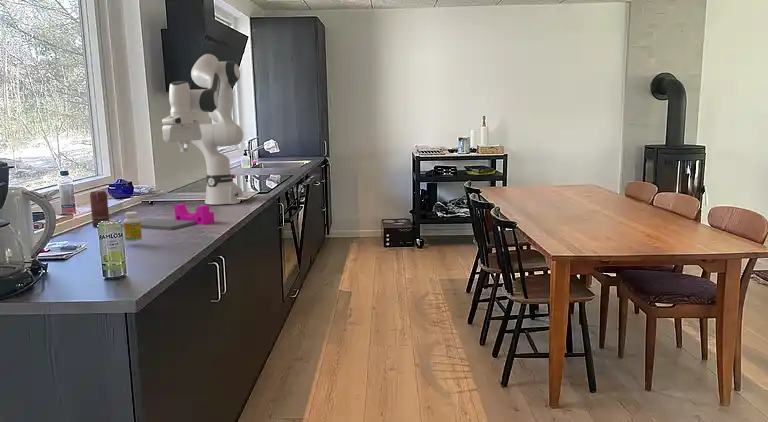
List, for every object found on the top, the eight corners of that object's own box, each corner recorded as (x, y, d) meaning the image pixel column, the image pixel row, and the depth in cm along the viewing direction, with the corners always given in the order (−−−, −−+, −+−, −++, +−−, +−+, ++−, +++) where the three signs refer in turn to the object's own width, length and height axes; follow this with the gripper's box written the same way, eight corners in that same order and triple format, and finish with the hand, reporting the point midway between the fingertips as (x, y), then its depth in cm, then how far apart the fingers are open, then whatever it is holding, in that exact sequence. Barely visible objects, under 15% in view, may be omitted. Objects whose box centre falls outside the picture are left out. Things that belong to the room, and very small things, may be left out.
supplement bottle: (131, 242, 197) (129, 214, 196) (121, 240, 200) (119, 213, 198) (145, 239, 201) (143, 212, 200) (135, 238, 204) (133, 211, 203)
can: (92, 228, 227) (89, 192, 225) (92, 225, 232) (89, 191, 230) (109, 226, 229) (106, 191, 227) (109, 224, 235) (106, 190, 233)
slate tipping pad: (150, 221, 242) (150, 218, 241) (195, 224, 232) (195, 221, 232) (123, 226, 229) (123, 223, 229) (170, 229, 220) (170, 226, 219)
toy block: (214, 222, 236) (213, 204, 235) (203, 225, 231) (202, 206, 230) (186, 220, 243) (185, 203, 242) (175, 223, 237) (174, 205, 236)
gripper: (192, 119, 258) (194, 150, 260) (158, 120, 239) (161, 153, 242) (203, 119, 256) (206, 150, 258) (170, 119, 237) (173, 153, 239)
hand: (184, 151), depth 250 cm, fingers closed
